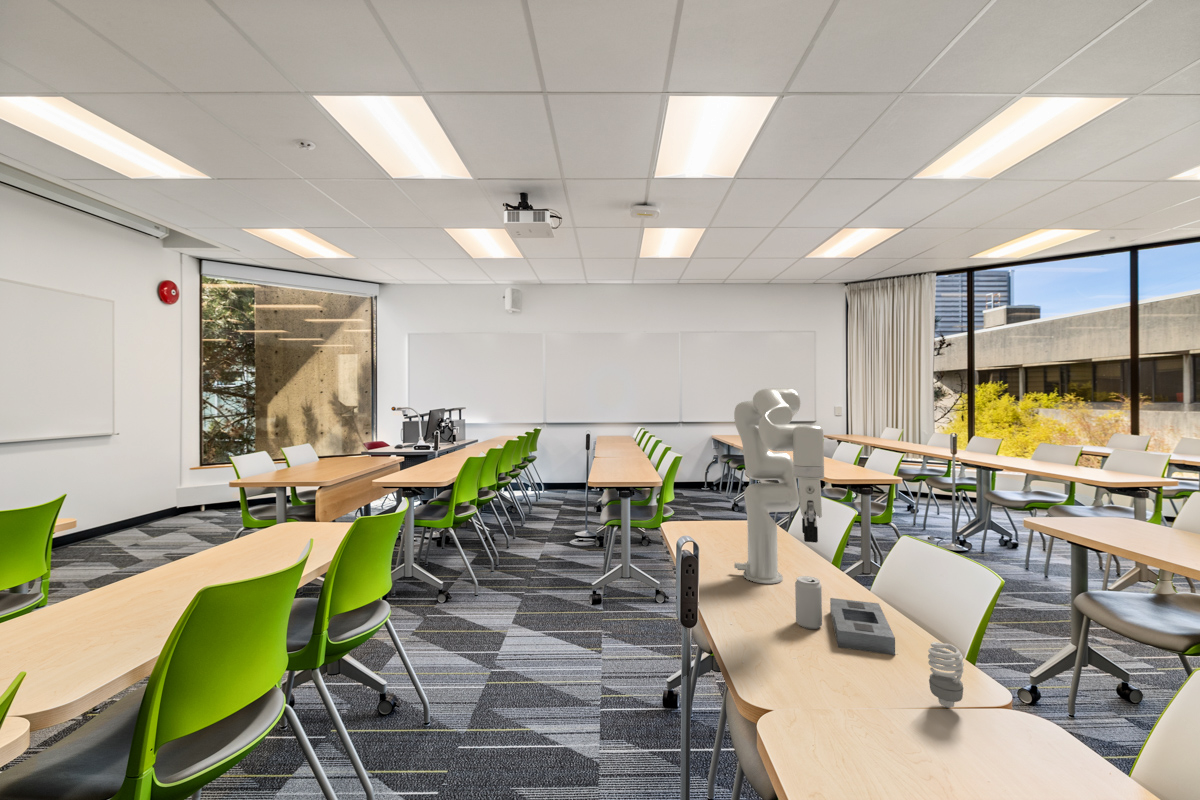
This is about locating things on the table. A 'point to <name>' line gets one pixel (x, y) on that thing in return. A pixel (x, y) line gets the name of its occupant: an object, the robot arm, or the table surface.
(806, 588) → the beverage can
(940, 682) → the light bulb
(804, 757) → the table surface
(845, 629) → the gray slotted block
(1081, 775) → the table surface
